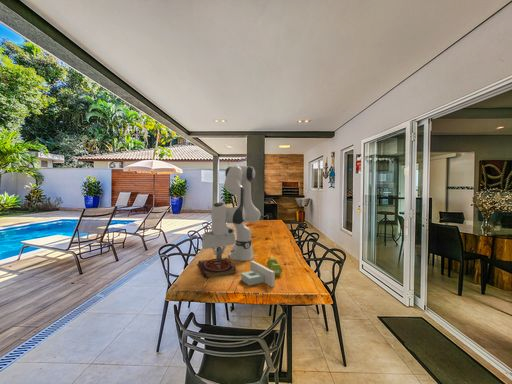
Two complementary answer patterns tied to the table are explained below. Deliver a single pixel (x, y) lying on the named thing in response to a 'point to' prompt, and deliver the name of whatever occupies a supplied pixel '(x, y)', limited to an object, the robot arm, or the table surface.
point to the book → (216, 267)
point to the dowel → (219, 253)
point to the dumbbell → (274, 266)
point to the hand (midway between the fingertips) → (219, 253)
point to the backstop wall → (264, 272)
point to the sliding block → (252, 277)
